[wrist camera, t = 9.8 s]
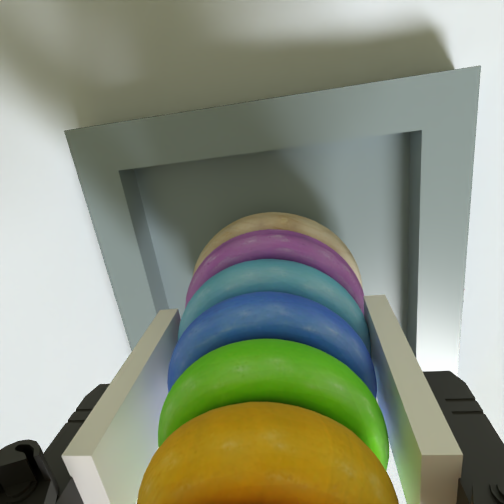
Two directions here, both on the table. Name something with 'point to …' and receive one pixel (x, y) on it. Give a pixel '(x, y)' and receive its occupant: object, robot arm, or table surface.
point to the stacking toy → (272, 376)
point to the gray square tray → (297, 193)
